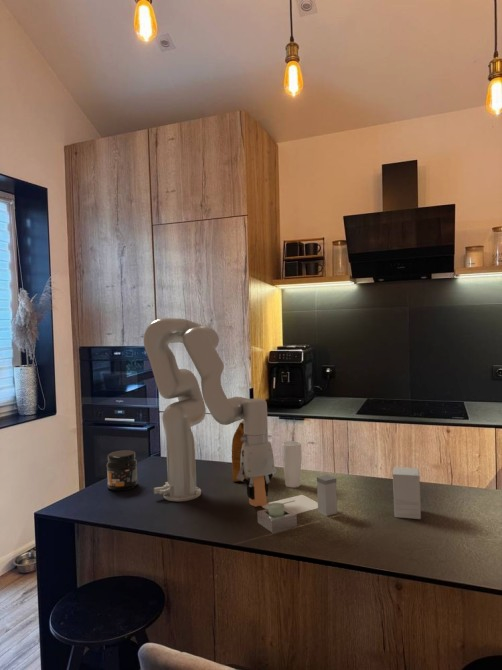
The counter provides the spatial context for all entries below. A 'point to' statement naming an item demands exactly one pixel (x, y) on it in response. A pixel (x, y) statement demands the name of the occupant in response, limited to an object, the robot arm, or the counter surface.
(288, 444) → the drinking glass
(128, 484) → the supplement container
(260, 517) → the button collar
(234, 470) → the coffee package
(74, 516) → the counter surface
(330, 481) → the grey rectangular prism
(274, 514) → the button
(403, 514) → the supplement box
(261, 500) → the brown box
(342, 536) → the counter surface
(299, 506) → the sketch pad
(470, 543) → the counter surface
